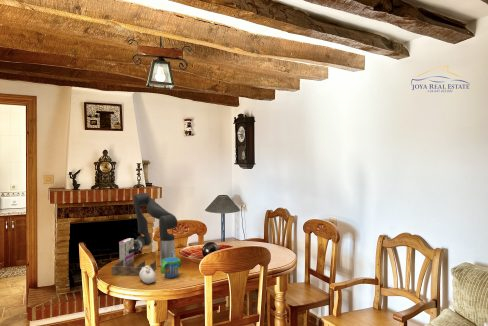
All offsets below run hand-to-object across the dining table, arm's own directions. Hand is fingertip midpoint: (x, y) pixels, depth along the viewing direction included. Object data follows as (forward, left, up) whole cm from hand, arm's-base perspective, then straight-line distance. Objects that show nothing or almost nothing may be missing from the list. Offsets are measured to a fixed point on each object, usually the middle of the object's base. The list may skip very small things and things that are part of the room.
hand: (125, 252), depth 243 cm
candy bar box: (0, -3, -9) cm, 9 cm away
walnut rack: (-11, +12, -9) cm, 19 cm away
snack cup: (-37, +18, -9) cm, 42 cm away
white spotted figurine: (-26, +28, -9) cm, 40 cm away
